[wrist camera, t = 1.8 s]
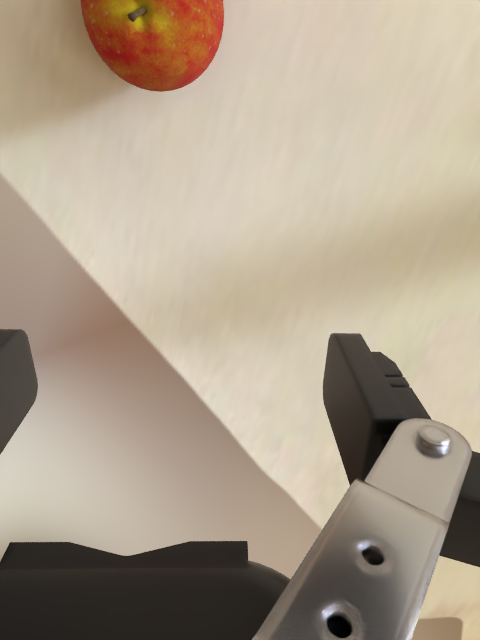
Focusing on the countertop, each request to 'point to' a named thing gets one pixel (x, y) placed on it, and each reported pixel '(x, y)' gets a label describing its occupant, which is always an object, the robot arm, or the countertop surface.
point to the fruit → (155, 38)
